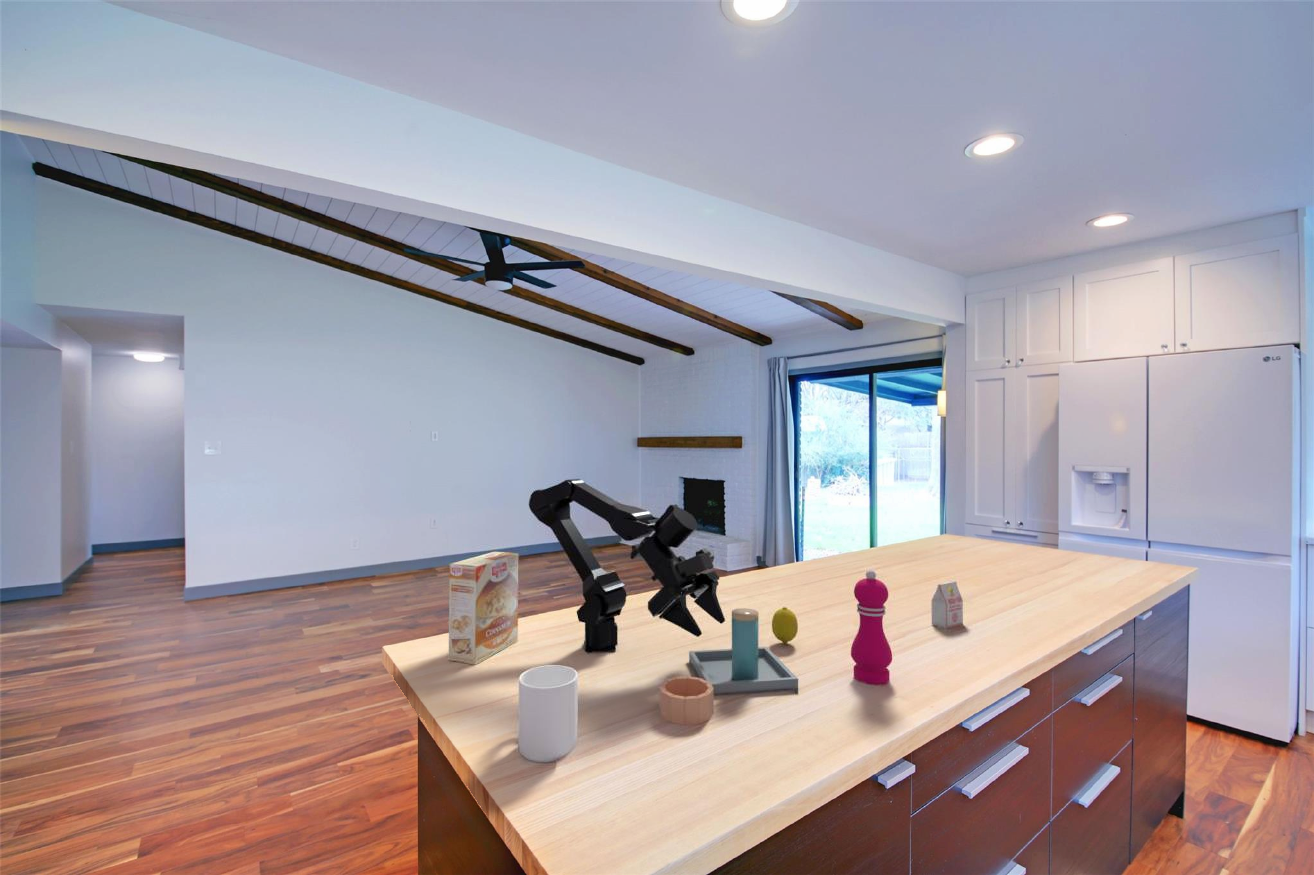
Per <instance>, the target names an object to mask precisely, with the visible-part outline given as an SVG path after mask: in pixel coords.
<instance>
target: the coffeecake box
mask: <svg viewBox="0 0 1314 875" xmlns="http://www.w3.org/2000/svg"><path fill="white" fill-rule="evenodd" d="M519 556H520V555H519V553H517V552H516V553H515V552H507V551H505V552H504V551H492V552H491V551H490V552H488V553H485V554H481V555H478V556H473V557H469V558H467V559H463V560H459V561H455V562H452V563H449V564H448V566H449V595H448V596H449V597H448V598H449V599H448V601H449V603H448V607H449V609H448V615H449V616H448V661H452V662H459V663H464V664H469V665H478V664H479V663H482V662H483V661H484V660H486V659H488V658H490V657H491V656H494V655H496V654H497V653H499V652H500V651H502V650H504V649H506V648H508V647H509V646H512V645H513V644H515V643H517V642H518V641H519V639H518V638H519V636H518V635H519Z"/></svg>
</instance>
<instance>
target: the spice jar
mask: <svg viewBox="0 0 1314 875" xmlns="http://www.w3.org/2000/svg"><path fill="white" fill-rule="evenodd" d="M758 647H759V611H758V610H756V609H753V608H744V607H743V608H742V607H741V608H739V607H738V608H735V609H732V610H731V649H732V680H733V681H742V680H757V679H759V661H758Z"/></svg>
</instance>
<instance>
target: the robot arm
mask: <svg viewBox="0 0 1314 875" xmlns="http://www.w3.org/2000/svg"><path fill="white" fill-rule="evenodd" d="M573 502H575V503H576V504H578V505H580V506H581V507H583V508H585V509H586V510H588V511H589V512H592V513H593V514H595V515H596V516H599V517H600V518H601V519H603V520H605V521H606V522H607V524H608V525H609V526H610V528H611V530H612V531H613V532H614V533H615V534H616V535H617V536H618V537H619V538H621V539H622V540H624V541H626V542H627V541H628V542H630V541H636V540H639V539H640V540H641V539H642V540H641V541H640V542H639V543H637V544H632V546H631V552H630V559H631V560H635V559H639V558H641V559H642V560H643V562H644V563H645V564H646V565H647V567H648V568H649V569H650V570H651V572H652V574H653V575H651V577H650V578H651V580H652V581H653V582H654V583H655V582H657V581H658V582H659V583H660V585H661V586H662V587H661V588H660V589H659V590H658V591H657V592H656V593H655V594H654V595H653V596H652V597H651V598H650V599H649V600H648V601H647V610H648V612H649V613H650V614H651V616H652V617H653V618H655V617H658V619H659V620H661V619H662V620H666V621H667V622H669V623H670V624H674V625H675V626H677V627H679V628H681V629H683V630H685V631H686V632H688V633H690V634H691V635H693V636H695V637H698V638H699V637H701V635H703V632H702V630H701V628H700V627H699V624H698V623H697V622H696V619H695V618H694V616H693V615H692V613H691V612H690V610H689V609H688V607H687V596H689V597H691V598H693V599H694V600H693V602H694V603H695V604H696V605H697V606H698V607H699V608H700V609H702V610H703V611H704V612H705V613H707V615H709V616H710V617H712V618H713V619H714V620H715V621H716V622H717V623H720V624H721V625H722V624H723V623H724V622H726V619H725V616H724V613H723V611H722V607H721V604H720V603H719V602H720V601H719V598H718V595H717V589H718V586H719V580H720V579H721V578H720V576H719V575H718V574H717V572H716V571H715V570H713V568H715V566H714V560H715V556H714V554H712V553H711V551H709V550H708V549H707V548H706V547H704V548H701V549H700V550H697V551H695V555H694V556H693V557H690V558H687V559H686V558H685V556H683V555H679V556H677V555H676V553H675V552H674V551H673V549H672V548H675V549H676V548H679V547H680V546H682V544H684V542H685V541H686V540H687V539H688V538H689V537H691V535H692V534H693V533H694V532H695V531H696V530H697V529H698V522H697V520H696V518H695V516H694V515H692V514H691V513H689V512H688V511H687V510H685V509H683V508H682V507H680V506H679V505H678V504H677V503H674V504H670V505H668V507H667V508H666V509H665V511H664V512H663V514H662V515H661V516H660V517H658V516H657V517H656V516H653V514H652V513H651V512H650V511H649V510H646V509H643V508H641V507H637V506H632V505H627V504H623V503H620V502H619V501H617V500H615V499H614V498H612V497H610V496H608V495H606V494H605V493H603V492H601V491H599V490H598V489H596V488H594V487H592V486H591V485H589V484H587V483H585V481H584V480H582V479H580V478H571V479H565V480H564V481H561V482H560V483H557V484H556V485H553V486H549V487H547V488H544V489H543V488H542V489H535V490H534V491H533V492H532V493H531V495H530V497H529V499H528V508H529V510H530V511H531V513H532V514H533V515H534V516H535V518H536V519H537V520H538V521H539V522H540V523H542V524H543V525H545V526H546V527H549V528H550V529H551V532H552V533H553V534H554V536H555V538H556V539H557V541H558V543H559V544H560V546H561V548H562V549H563V551H564V553H565V554H566V556H567V558H568V560H569V561H570V562H571V564H572V566H573V568H574V569H575V571H576V573H577V574H578V577H579V578H580V579H581V582H582V596H583V599H584V601H585V602H584V603H582V605H581V606H580V607H579V608H578V609H577V610H576V616H577V619H578V622H579V623H584V640H583V648H584V652H585V653H587V654H588V653H602V652H604V653H605V652H616V650H617V647H616V646H618V644H619V643H618V639H619V638H618V635H619V634H618V632H619V631H618V628H619V627H618V624H617V622H616V619H615V617H616V616H620V615H621V613H622V610H623V608H624V606H625V605H626V602H627V597H628V596H627V592H626V589H625V587H626V585H625V584H624V583H623V582H622V581H621V579H620V576H619V574H618V573H617V571H615V570H612V571H608V572H607V571H606V570H604V569H603V568H602V566H601V564H600V563H599V561H598V560H597V559H596V558H597V557H595V555H594V554H593V552H592V550H591V549H590V547H589V545H588V544H587V542H586V541H585V539H584V537H583V536H582V534H581V532H580V531H579V529H578V527H577V526H576V525H575V522H574V520H573V519H572V518H571V505H570V504H571V503H573ZM653 532H654V533H653ZM650 535H651V536H650Z"/></svg>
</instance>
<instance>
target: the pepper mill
mask: <svg viewBox="0 0 1314 875" xmlns="http://www.w3.org/2000/svg"><path fill="white" fill-rule="evenodd" d="M865 577H866V578H865ZM865 577H864V578H863V579H860V580H859V581H857V582H856V584H855V585H854V589H853V595H854V598H855V599H856V600H857V602H858V603H856V607H857V608H856V612H857V613H858V615H859V627H858V630H857V633H856V635H855V637H854V639H853V641H852V644H851V648H850V656H851V659H852V660H853V662H854V663H855V664H854V665H853V677H854V678H855V679H856V680H857V681H859V682H861V683H863V684H867V685H874V686H881V685H882V686H883V685H887V684H888V683H890V680H891V678H890V670H889V668H888V667H889V666H890V665H891V664H892V661H893V654H892V652H893V651H892V649H891V646H890V643H889V641H888V639H887V637H886V635H885V632H884V628H883V626H884V625H883V619H884V615H886V614H887V613H886V609H887V608H886V606H885V603H886V602H887V601H888V599H889V589H888V587H887V585H886V584H885V583H884V582H882V581H881V580H880V579H877V574H876V572H875V571H874V570H870V569H869V570H867V571H866V573H865Z"/></svg>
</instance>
